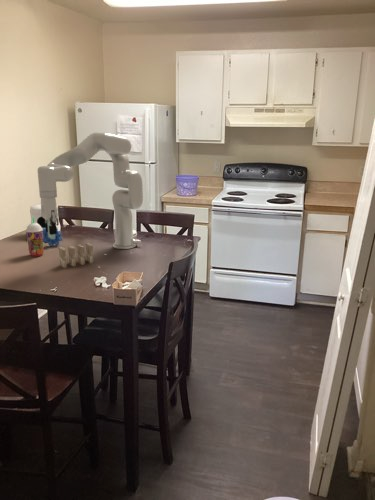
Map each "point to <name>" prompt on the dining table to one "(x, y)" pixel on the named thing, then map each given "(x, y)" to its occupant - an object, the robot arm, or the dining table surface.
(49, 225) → the domino
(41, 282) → the dining table surface
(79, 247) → the domino
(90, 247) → the domino
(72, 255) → the domino
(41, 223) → the milk container
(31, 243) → the smoothie
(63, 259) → the domino
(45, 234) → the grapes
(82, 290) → the dining table surface
